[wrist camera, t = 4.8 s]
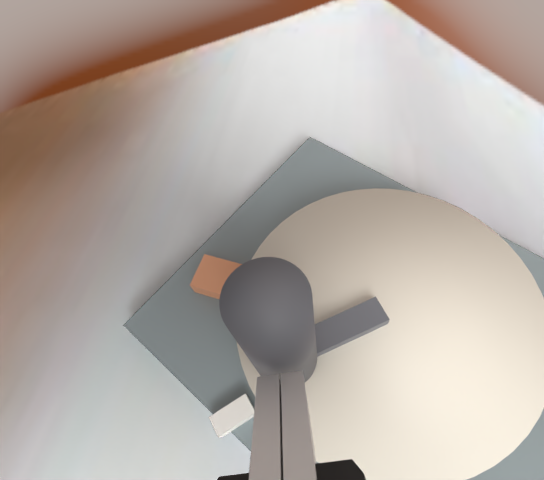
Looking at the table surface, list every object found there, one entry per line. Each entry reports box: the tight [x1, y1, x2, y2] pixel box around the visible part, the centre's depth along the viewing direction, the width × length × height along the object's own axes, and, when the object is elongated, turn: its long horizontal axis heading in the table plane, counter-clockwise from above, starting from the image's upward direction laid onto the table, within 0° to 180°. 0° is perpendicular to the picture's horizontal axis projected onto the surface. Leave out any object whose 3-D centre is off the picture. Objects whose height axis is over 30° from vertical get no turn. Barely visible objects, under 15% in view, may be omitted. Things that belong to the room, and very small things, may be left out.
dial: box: [219, 188, 544, 480], centre depth 16 cm, size 14×14×9 cm
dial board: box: [124, 137, 544, 480], centre depth 21 cm, size 22×18×2 cm
